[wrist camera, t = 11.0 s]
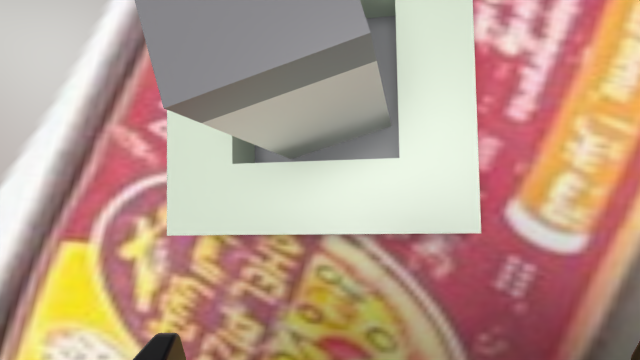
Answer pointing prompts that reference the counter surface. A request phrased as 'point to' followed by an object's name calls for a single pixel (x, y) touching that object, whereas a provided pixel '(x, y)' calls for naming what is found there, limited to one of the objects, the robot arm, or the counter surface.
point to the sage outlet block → (352, 148)
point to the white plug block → (268, 69)
